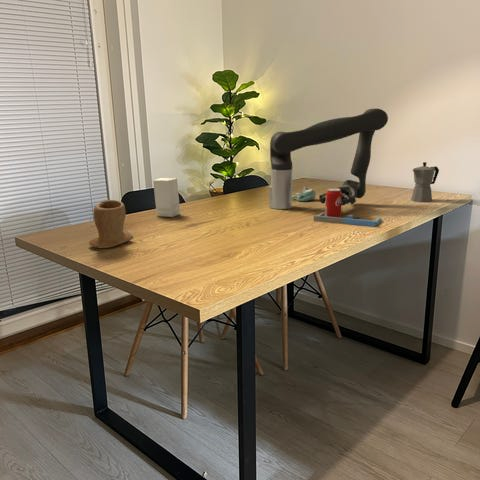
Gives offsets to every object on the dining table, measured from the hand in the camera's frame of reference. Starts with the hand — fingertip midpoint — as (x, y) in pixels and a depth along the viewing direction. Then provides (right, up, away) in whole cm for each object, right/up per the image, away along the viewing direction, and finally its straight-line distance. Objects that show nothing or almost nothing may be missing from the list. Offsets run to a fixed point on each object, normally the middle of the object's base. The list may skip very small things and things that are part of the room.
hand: (332, 201), depth 185 cm
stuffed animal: (-6, +4, +42) cm, 43 cm away
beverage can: (+1, -7, +3) cm, 7 cm away
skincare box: (-67, -5, +14) cm, 69 cm away
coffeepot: (+50, +4, +37) cm, 63 cm away
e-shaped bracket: (+6, -7, 0) cm, 9 cm away
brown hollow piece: (-79, -17, -28) cm, 85 cm away
